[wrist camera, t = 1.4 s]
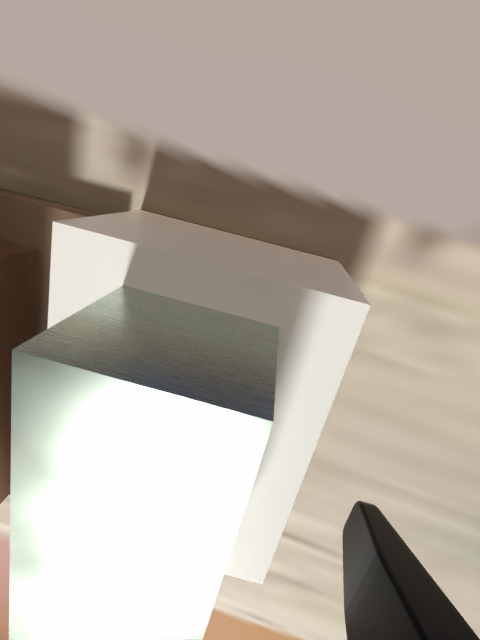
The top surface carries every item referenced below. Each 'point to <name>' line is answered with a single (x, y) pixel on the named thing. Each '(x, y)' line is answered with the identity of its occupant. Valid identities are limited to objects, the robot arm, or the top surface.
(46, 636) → the pale grey block
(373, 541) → the robot arm
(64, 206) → the channel mount plate
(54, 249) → the holder
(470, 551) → the top surface
